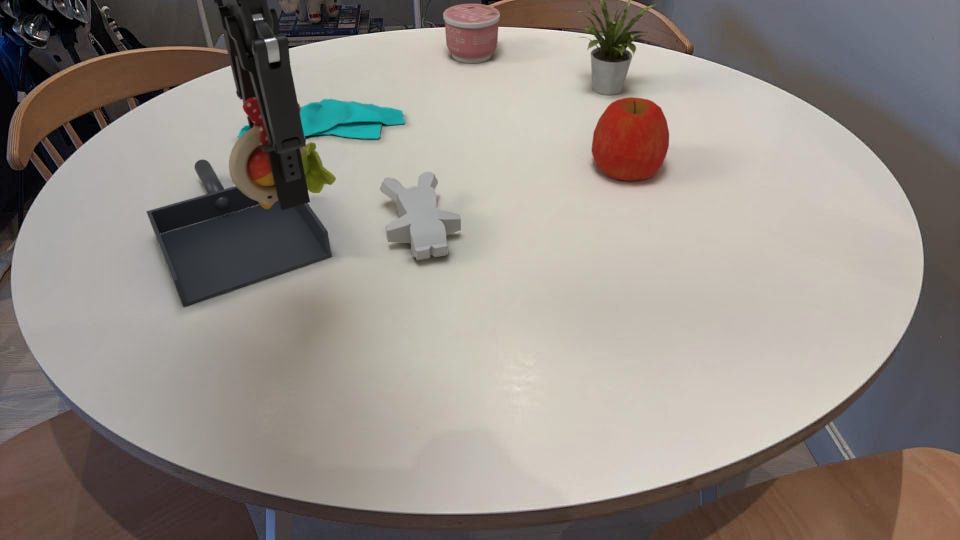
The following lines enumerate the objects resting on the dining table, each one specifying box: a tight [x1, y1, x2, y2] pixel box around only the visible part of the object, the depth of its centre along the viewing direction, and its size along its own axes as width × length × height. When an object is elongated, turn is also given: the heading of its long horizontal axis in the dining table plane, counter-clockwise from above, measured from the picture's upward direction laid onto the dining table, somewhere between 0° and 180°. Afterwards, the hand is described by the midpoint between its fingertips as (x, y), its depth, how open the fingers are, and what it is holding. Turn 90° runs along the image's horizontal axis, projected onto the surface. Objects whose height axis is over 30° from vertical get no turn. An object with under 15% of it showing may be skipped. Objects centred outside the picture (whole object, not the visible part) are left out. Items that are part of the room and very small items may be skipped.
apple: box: [591, 96, 670, 182], centre depth 99 cm, size 11×11×11 cm
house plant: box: [577, 0, 658, 96], centre depth 118 cm, size 14×14×16 cm
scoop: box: [146, 159, 333, 308], centre depth 91 cm, size 27×18×4 cm
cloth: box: [237, 98, 406, 140], centre depth 113 cm, size 26×14×2 cm, turn 93°
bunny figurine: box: [379, 171, 462, 261], centre depth 90 cm, size 10×5×15 cm
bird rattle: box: [228, 97, 337, 209], centre depth 64 cm, size 6×11×9 cm
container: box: [442, 3, 501, 64], centre depth 131 cm, size 10×10×8 cm
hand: (284, 188), depth 68 cm, fingers closed on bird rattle, 5 cm apart
